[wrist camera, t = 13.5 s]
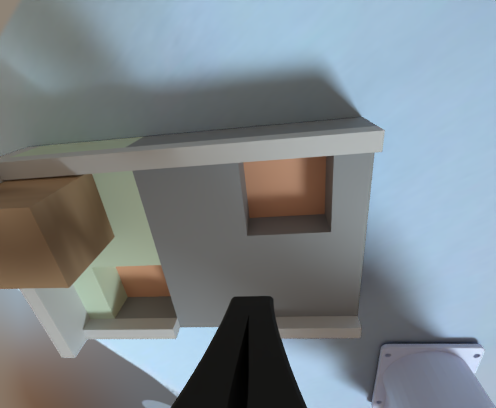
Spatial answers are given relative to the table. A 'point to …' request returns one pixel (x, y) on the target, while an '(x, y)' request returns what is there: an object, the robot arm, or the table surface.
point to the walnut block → (50, 230)
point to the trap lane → (215, 229)
